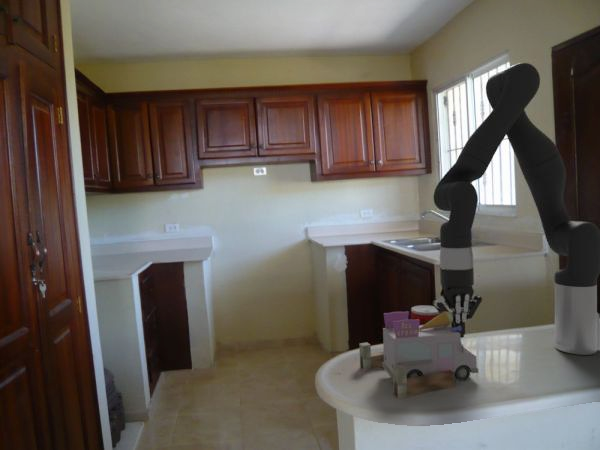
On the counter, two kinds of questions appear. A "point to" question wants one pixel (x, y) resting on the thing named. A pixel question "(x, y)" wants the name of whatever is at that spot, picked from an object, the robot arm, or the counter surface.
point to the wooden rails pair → (400, 380)
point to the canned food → (423, 313)
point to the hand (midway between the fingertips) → (458, 336)
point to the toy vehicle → (425, 346)
